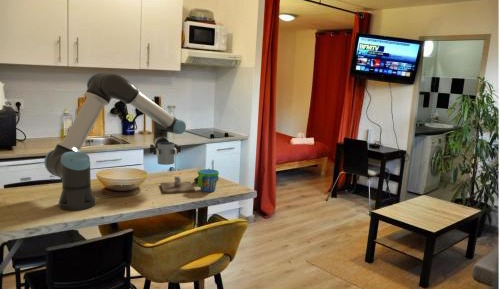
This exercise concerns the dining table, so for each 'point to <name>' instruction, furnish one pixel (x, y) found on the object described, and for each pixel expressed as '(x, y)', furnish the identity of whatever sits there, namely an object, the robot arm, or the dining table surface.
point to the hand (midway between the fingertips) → (167, 153)
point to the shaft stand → (177, 186)
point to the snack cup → (207, 179)
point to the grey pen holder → (165, 153)
